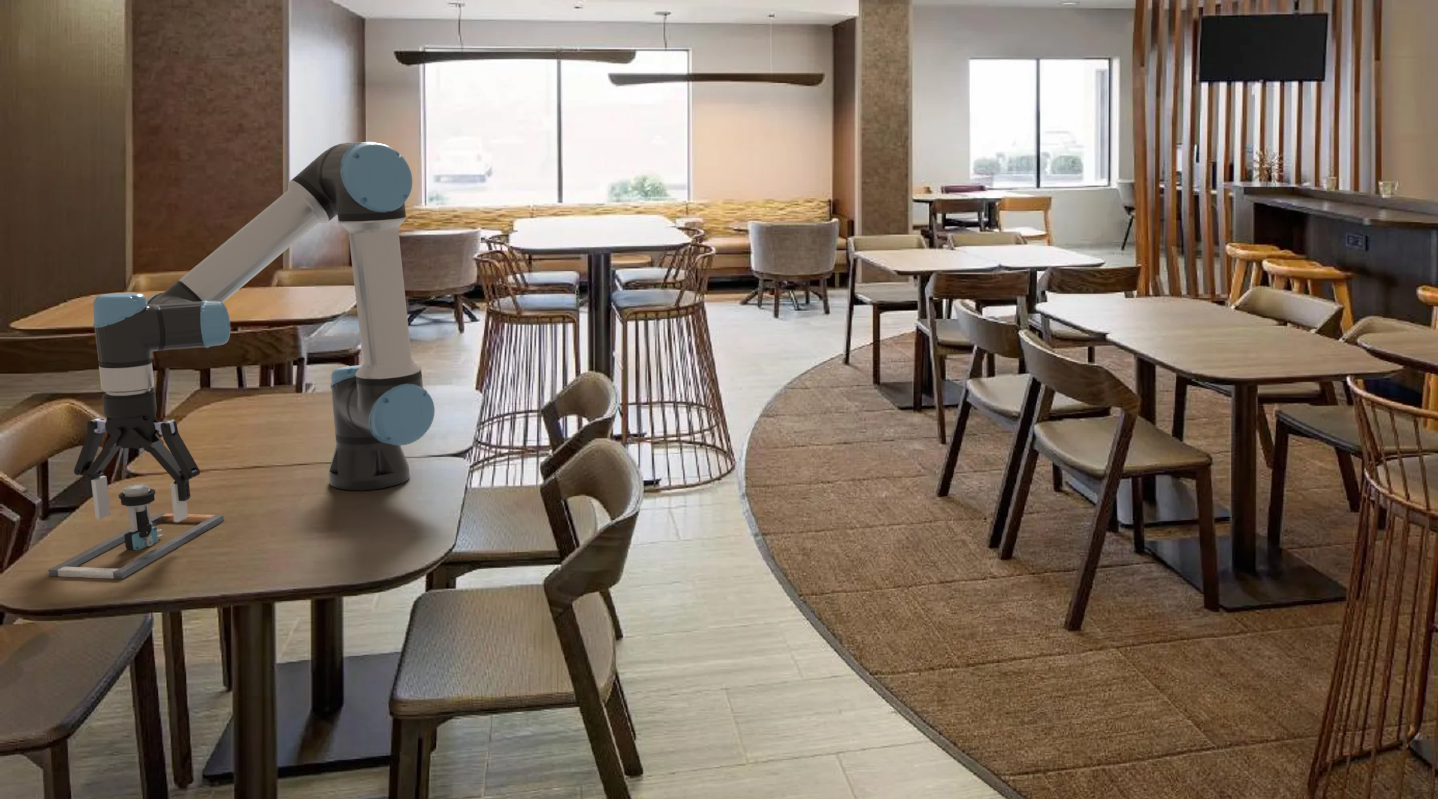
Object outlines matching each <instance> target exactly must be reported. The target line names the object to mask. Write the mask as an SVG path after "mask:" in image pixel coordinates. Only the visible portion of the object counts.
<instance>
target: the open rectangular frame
mask: <svg viewBox="0 0 1438 799" xmlns="http://www.w3.org/2000/svg"><path fill="white" fill-rule="evenodd" d="M224 521H225V518H224V515H223V514H202V513H200V514H199V513H198V514H195V513H193V514H192V513H188V517H187V518H185V519H183V520H182V521H180V522H179V523H196V524H197V523H198V524H197V525H194V526H192V528H189V529H188V530H186V531H184V532H182V533H181V534H179V535H177V536H175V537H173V538H172V539H169V540H168V541H165V543H163V544H161V545H159V546H157V547H156V548H154V549H152V550H150V551H148V552H146V553H144V554H143V555H141V556H139V557H138V558H136V559H134V560H132V561H131V562H129V563H127V564H125V565H124V566H122V567H120V568H110V567H109V568H108V567H87V566H86V567H84V566H81V565H82V564H84V563H87V562H88V561H90V560H92V559H94V558H96V557H98V556H100V555H101V554H103V553H106V552H107V551H109V550H111V549H113V548H115V547H117V546H118V545H120V544H122V543H125V537H124V535H125V534H126V533H128V532H130V530H129V529H130V527H128V528H127V529H125V530H123V531H121V532H119V533H117V534H116V535H113V536H111V537H109V538H108V539H105V540H104V541H101V542H100V543H98V544H96V545H93V546H92V547H91V548H88V549H86V550H84V551H82V552H80V553H78V554H77V555H75V556H73V557H70V558H69V559H66V560H65V561H62V562H61V563H58V564H57V565H55V566H53V567H51V568H49V569H48V570H47V571H48V576H49V577H64V578H65V577H66V578H67V577H69V578H70V577H71V578H91V579H114V580H117V579H119V580H124V579H125V578H127V577H129V576H130V575H132V574H134V573H136V572H137V571H139V570H142V569H143V568H145V567H146V566H148V565H149V564H151V563H153V562H154V561H157V560H158V559H160V558H162V557H164V556H166V555H167V554H170V552H172V551H174V550H176V549H177V548H179V547H181V546H183V545H184V544H186V543H188V542H189V541H191V540H194V539H195V538H197V537H198V536H199V535H201V534H204V533H205V532H207V531H208V530H210V529H212V528H214V527H216V526H217V525H219V524H221V523H222V522H224ZM151 522H152V527H156V526H157V525H158V524H160V523H162V522H169V523H171V522H173V523H175V522H174V517H173V512H172V513H171V512H170V513H169V512H168V513H165V512H158V513H157V514H154V515H152V516H151ZM79 566H80V567H79Z"/></svg>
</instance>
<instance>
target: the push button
mask: <svg viewBox="0 0 1438 799" xmlns="http://www.w3.org/2000/svg"><path fill="white" fill-rule="evenodd" d="M155 495H156V489H154V488H150V487H149V484H145V483H136V484H131V485H127V486H125V487H124V488H123V492H120V493H119V494H118V499H119V500H120V504H121V505H122V506H126V509H127V512H128V513H127V514H128V520H129V521H128V522H129V528H130V529H129V528H128V529H129V530H130V532H128V533H126V534H125V535H124V537H125V541H124V544H125V545H124V546H125V549H126V550H131V551H139V550H142V549H145V548H147V547H151V546H153V545H154V544H156V543H158V542H159V538H160V537H163V536H164V534H158V533H159V532H162V531H163V529H161V528H160V529H159V528H157V526H153V527H152V522H151V517H152V516H151V515H152V514H151V509H150V505H151V503H152V502H154V501H155V500H156V499H155Z"/></svg>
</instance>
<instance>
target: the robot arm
mask: <svg viewBox="0 0 1438 799" xmlns="http://www.w3.org/2000/svg"><path fill="white" fill-rule="evenodd" d="M412 188H413V176H412V171H411V168H410V166H409V164H408V162H407V160H406V159H405V157H404V156H403V155H402V154H400V153H399V152H398V151H397V150H396V149H394V148H393V147H391V146H389V145H387V144H383V143H378V142H375V141H363V142H346V143H339V144H335V145H333V146H331V147H329V148H328V149H327V150H325V151H324V152H322V153H321V154H320V155H318V156H317V157H316V158H314V160H312V161H311V163H309V164H308V165H307V166H306V167H305V168H304V169H302V170H301V171H300V172H299V173H297V175H295V176H294V177H293V178H292V179H291V180H289V182H288V186H287V190H286V191H285V192H284V193H283V194H282V195H280V196H279V197H278V198H277V199H276V200H274V201H273V202H272V203H271V204H270V205H268V206H267V207H266V208H265V209H264V210H262V211H261V212H260V213H259V214H258V215H255V217H254V218H253V219H251V220H250V221H249V222H248V223H247V224H246V225H244V226H243V227H241V228H240V229H239V230H238V231H237V232H235V233H234V234H233V235H232V236H231V237H229V238H228V239H227V240H226V241H224V242H223V243H222V244H221V245H219V246H218V247H217V248H216V249H215V250H213V252H211V253H210V254H209V255H208V256H206V257H205V258H204V259H203V260H202V261H200V262H199V263H198V264H197V265H195V266H194V267H193V268H192V269H191V270H189V271H187V273H185V275H183V276H182V277H181V278H180V279H178V281H176V282H175V283H174V284H172V285H171V286H170V287H169V288H168V289H166V290H165V291H164V292H159V293H157V294H156V293H155V294H153V295H152V296H149V297H148V298H147V297H146V296H145V294H143V293H138V292H114V293H113V292H111V293H104V294H100V295H98V296H96V297H95V299H94V300H93V304H92V305H93V327H94V334H95V342H96V344H95V345H96V351H97V357H98V358H97V359H98V369H99V381H100V390H102V391H103V392H104V393H103V395H102V396H101V398H102V406H103V413H104V416H105V417H106V419H104V418H103V417H97V418H94V419H91V420H88V421H87V422H86V424H87V434H86V436H85V440H84V441H83V442H84V443H83V444H82V448H81V450H80V453H79V455H78V458H77V460H76V464H75V466H74V469H73V474H74V475H75V476H82V477H84V478H85V479H86V481H87V488H88V496H89V497H90V498H92V499H93V508H94V514H95V515H94V516H95V520H100V519H103V518H106V517H107V516H109V515H111V507H110V499H109V497H110V496H109V490H108V488H109V487H108V479H107V475H104V471H105V470H106V468H107V466H108V465H109V464H110V462H111V461H112V459H113V458H114V457H115V455H116V454H117V452H119V450H120V449H129V448H132V449H136V450H139V449H143V450H144V451H145V452H147V453H149V455H151V456H152V457H153V458H154V459H155V460H156V462H157V463H158V464H160V466H161V467H162V468H163V470H165V472H166V473H167V474H168V475H169V476H170V477H171V479H173V480H174V481H172V482H170V483H169V484H170V495H171V504H172V506H171V507H172V514H173V517H174V522H173V523H181V522H180V521H182V520H183V519H185V518H187V517H188V514H189V513H188V504H187V501H188V500H190V498H191V489H190V488H191V487H190V480H191V479H194V478H196V477H197V476H200V474H201V470H200V468H199V466H198V465H197V463H196V461H195V459H194V458H193V456H192V454H191V452H190V451H189V449H188V447H187V445H186V444H185V442H184V440H183V438H182V437H181V435H180V433H179V431H178V430H179V429H178V425H177V421H176V420H175V419H170V420H167V421H158V420H157V417H156V416H157V410H158V407H157V399H156V397H157V396H156V391H155V390H153V389H152V388H154V386H155V379H154V370H153V361H152V360H153V358H152V352H160V351H161V352H162V351H170V350H185V349H186V350H187V349H196V348H197V349H198V348H206V349H209V348H210V347H215V346H222V345H225V344H227V343H228V342H229V339H230V336H231V320H230V315H229V311H228V309H227V307H226V305H225V302H226V301H227V300H228V299H229V298H231V297H232V296H233V295H234V294H235V293H236V292H237V291H239V290H240V289H241V288H242V287H244V286H245V285H246V284H247V283H248V282H249V281H250V280H252V279H253V278H254V277H256V276H257V275H258V274H259V273H260V272H261V271H262V270H264V269H265V268H266V267H268V266H269V265H271V263H272V262H274V261H275V260H276V259H277V258H278V257H279V256H280V255H282V254H283V253H284V252H285V251H286V250H289V248H290V247H291V246H292V245H294V244H295V243H296V242H297V241H298V240H300V239H301V238H302V237H303V236H304V235H306V234H307V233H308V232H309V231H310V230H311V229H314V227H315V226H316V225H318V224H328V223H329V222H330V221H331V220H333V218H335V217H336V216H337V222H338V224H340V226H342V227H343V228H344V229H345V230H347V232H348V239H349V240H348V241H349V248H350V256H351V257H350V258H351V268H352V276H353V277H352V278H353V283H354V284H353V287H354V293H355V294H354V296H355V302H356V310H357V311H356V312H357V319H358V328H359V338H360V347H361V356H362V364H359V365H350V366H342V367H337V368H335V369H333V371H332V372H331V374H330V376H331V379H330V380H331V383H330V389H331V399H332V409H333V421H334V424H333V425H334V434H335V447H334V451H333V456H332V460H331V463H330V467H329V471H328V478H329V481H328V482H329V485H330V487H333V488H336V489H339V490H347V491H371V490H379V489H385V488H391V487H394V486H397V485H400V484H403V483H405V482H406V481H408V480H409V479H410V477H411V474H410V466H409V463H408V461H407V458H406V455H405V452H404V450H403V448H402V446H407V445H410V444H412V443H414V442H417V441H418V440H420V439H421V438H423V437H424V435H425V434H426V433H427V432H428V431H429V429H430V428H431V426H432V425H433V424H432V423H433V422H434V419H435V413H436V411H435V410H436V409H435V403H434V400H433V398H432V396H431V395H430V393H429V392H428V391H427V389H425V388H424V384H423V374H422V367H421V366H420V365H419V364H418V363H417V362H415V361H414V360H413V359H412V352H411V351H412V350H411V349H412V348H411V340H410V332H409V331H410V330H409V321H408V312H407V310H408V309H407V303H406V302H407V301H406V291H405V290H406V289H405V281H404V271H403V263H402V262H403V261H402V252H401V251H402V250H401V243H400V242H401V241H400V233H399V231H400V230H399V229H400V227H401V226H402V224H403V223H404V222H405V221H406V219H407V214H406V212H407V211H406V202H407V200H408V198H409V197H410V195H411V192H412ZM105 432H107V433H108V434H109V435H110V436H109V438H108V439H107V441H106V442H105V444H104V447H103V448H102V450H101V451H100V452H99V454H98V455H97V453H98V450H99V447H100V445H101V442H102V440H103V438H104V435H105V434H104V433H105ZM158 433H159V434H158ZM159 435H160V436H162V438H163V440H162V438H161V437H160V436H159ZM164 443H165V444H164ZM165 445H166V446H167V447H166V446H165ZM96 455H97V457H96Z"/></svg>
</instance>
